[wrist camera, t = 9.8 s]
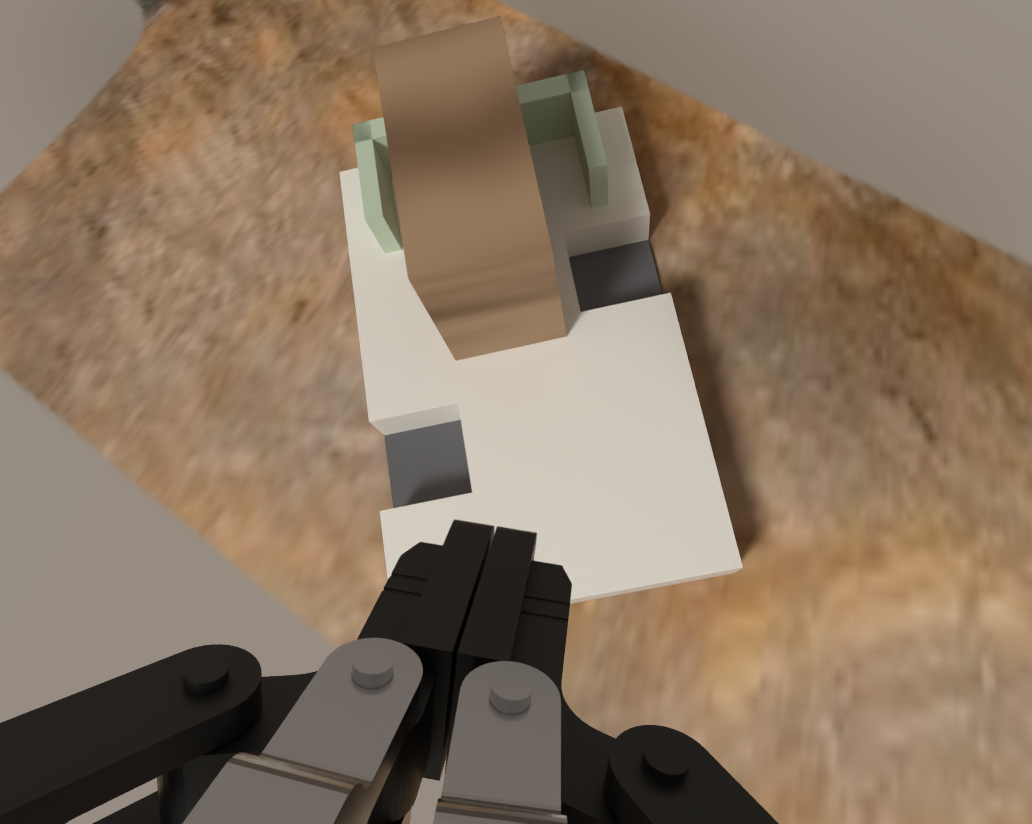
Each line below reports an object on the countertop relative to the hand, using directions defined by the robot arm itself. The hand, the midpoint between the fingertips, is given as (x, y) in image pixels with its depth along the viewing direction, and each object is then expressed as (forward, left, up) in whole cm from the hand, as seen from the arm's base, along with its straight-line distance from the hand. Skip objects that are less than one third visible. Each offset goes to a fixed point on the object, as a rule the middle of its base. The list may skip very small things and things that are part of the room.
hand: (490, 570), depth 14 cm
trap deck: (+11, -4, -20) cm, 23 cm away
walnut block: (+15, -6, -17) cm, 24 cm away
